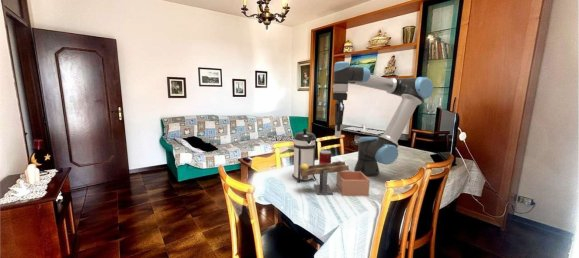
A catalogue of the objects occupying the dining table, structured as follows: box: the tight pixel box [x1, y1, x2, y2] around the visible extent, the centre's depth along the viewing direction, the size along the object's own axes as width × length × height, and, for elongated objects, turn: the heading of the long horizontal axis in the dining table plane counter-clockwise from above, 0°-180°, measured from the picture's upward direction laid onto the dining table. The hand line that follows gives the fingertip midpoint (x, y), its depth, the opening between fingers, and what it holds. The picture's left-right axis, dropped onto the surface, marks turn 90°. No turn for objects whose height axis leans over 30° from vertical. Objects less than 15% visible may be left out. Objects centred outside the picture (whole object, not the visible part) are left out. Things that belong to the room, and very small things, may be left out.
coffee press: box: [291, 127, 317, 183], centre depth 139 cm, size 17×16×30 cm
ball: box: [301, 164, 309, 171], centre depth 122 cm, size 4×4×4 cm
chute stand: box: [313, 170, 334, 196], centre depth 123 cm, size 8×11×13 cm
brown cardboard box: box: [335, 170, 371, 197], centre depth 124 cm, size 13×13×8 cm
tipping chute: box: [299, 160, 350, 180], centre depth 125 cm, size 24×13×6 cm, turn 92°
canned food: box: [318, 149, 332, 165], centre depth 161 cm, size 8×8×11 cm
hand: (337, 136), depth 129 cm, fingers closed
